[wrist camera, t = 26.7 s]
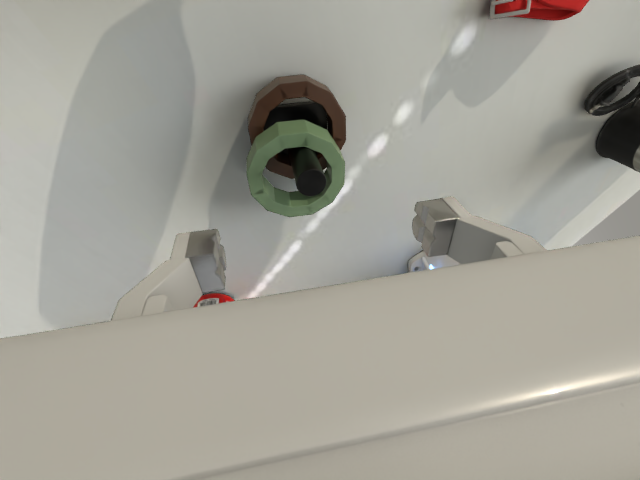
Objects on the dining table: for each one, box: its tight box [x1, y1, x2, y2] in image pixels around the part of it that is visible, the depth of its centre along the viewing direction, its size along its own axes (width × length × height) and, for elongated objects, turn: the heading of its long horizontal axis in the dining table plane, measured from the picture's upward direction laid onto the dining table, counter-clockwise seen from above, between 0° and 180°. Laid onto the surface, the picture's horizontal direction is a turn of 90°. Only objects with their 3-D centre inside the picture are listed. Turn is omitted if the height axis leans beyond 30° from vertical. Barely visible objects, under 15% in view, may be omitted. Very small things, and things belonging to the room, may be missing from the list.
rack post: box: [263, 101, 327, 196], centre depth 38 cm, size 8×8×13 cm
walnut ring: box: [248, 75, 346, 179], centre depth 40 cm, size 11×11×3 cm
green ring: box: [247, 120, 345, 217], centre depth 40 cm, size 11×11×3 cm
